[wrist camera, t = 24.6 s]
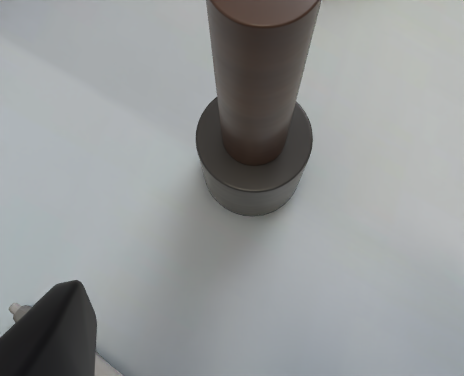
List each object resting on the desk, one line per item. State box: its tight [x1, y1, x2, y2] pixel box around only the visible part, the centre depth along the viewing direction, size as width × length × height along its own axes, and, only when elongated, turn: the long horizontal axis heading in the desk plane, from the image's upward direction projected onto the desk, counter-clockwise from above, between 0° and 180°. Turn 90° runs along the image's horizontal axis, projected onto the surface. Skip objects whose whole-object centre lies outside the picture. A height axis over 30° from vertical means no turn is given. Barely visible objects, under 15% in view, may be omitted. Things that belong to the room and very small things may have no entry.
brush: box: [196, 0, 321, 216], centre depth 14 cm, size 4×4×12 cm
